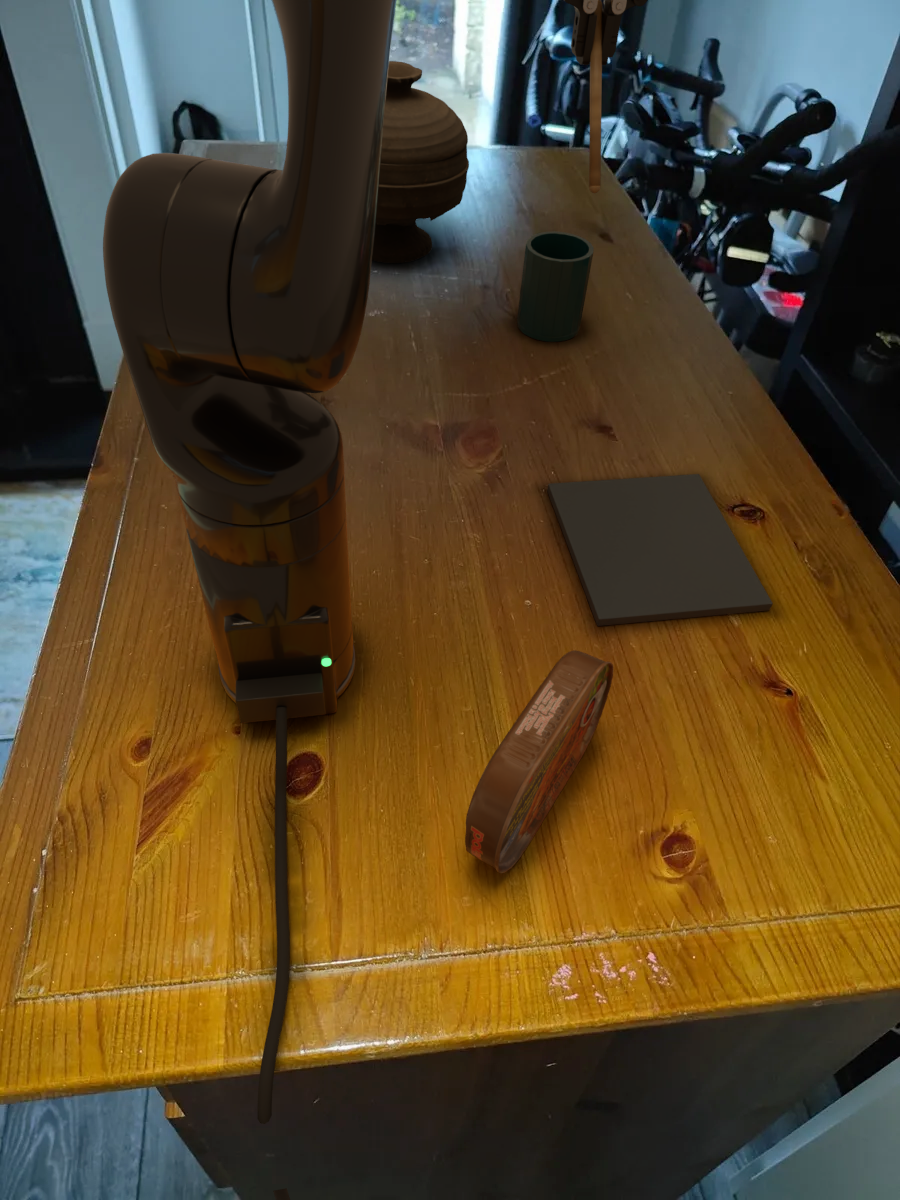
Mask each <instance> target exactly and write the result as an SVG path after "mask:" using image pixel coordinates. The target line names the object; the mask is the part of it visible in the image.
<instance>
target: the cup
mask: <svg viewBox="0 0 900 1200" xmlns="http://www.w3.org/2000/svg"><path fill="white" fill-rule="evenodd" d="M594 249H595V248H594V246H593V244H592V243H591V242H590V241H588V240H587V239H586V238H584V237H582V236H579V235H577V234H574V233H570V232H566V231H557V230H555V231H554V230H553V231H552V230H551V231H543V232H537V233H535V234H533V235H530V236H529V237H528V239H526V242H525V248H524V257H523V266H522V275H521V283H520V291H519V299H518V300H519V302H518V307H517V316H516V325H517V328H518V329H519V331H520V332H521V333H522V334H524V335H525V336H527V337H529V338H531V339H533V340H537V341H541V342H547V343H560V342H566V341H569V340H571V339H573V338H575V337H576V336H577V335H578V334H579V332H580V329H581V325H582V319H583V313H584V307H585V302H586V296H587V290H588V285H589V279H590V273H591V268H592V262H593V256H594Z"/></svg>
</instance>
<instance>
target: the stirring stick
mask: <svg viewBox="0 0 900 1200" xmlns="http://www.w3.org/2000/svg"><path fill="white" fill-rule="evenodd" d="M602 9H603V2H602V0H598V4H597V8H596V10H595V11H594V13H595V14H596V15H597V22H596V28H595V35H594V41H593V48H592V52H591V56H590V64H589V150H588V151H589V159H588V164H589V165H588V171H589V172H588V177H589V178H588V189H589V191H590V193H592V194H597V193H599V192H600V190H601V185H602V182H601V181H602V180H601V179H602V177H601V176H602V174H601V173H602V95H603V94H602V93H603V92H602V91H603V90H602V88H603V87H602V86H603V85H602V83H603V81H602V80H603V65H602Z"/></svg>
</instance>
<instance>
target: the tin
mask: <svg viewBox="0 0 900 1200" xmlns="http://www.w3.org/2000/svg"><path fill="white" fill-rule="evenodd" d="M613 677H614V664H613V663H612V662H611V661H605V660H604V659H603V660H602V659H600V658H598V657H595V656H593V655H591V654H588V653H586V652H583V651H581V650H575V649H574V650H570V651H568V652H566V653H565V654H564V655H563V656H561V657H560V659H558V661H557V662H556V663H555V665H554V666H553V667H552V668H551V670H550V671H549V673H548V674H547V676H546V677H545V678H544V680H543V681H542V683H541V684H540V685H539V687H538V688H537V690H536V691H535V692H534V694H533V696H532V697H531V698H530V700H529V701H528V703H527V704H526V705H525V707H524V709H523V710H522V711H521V713H520V714H519V715H518V717H517V719H516V720H515V722H514V723H513V724H512V726H511V728H510V729H509V731H508V732H507V733H506V734H505V736H504V738H503V739H502V740H501V742H500V744H499V745H498V746H497V748H496V750H495V751H494V753H493V755H491V758H490V759H489V761H488V763H487V764H486V766H485V768H484V770H483V772H482V774H481V776H480V778H479V780H478V783H477V785H476V787H475V789H474V792H473V794H472V797H471V800H470V803H469V805H468V808H467V813H466V816H465V818H466V819H465V835H464V836H465V837H464V844H465V851H466V852H467V853H468V854H470V855H471V856H473V857H475V858H476V859H478V860H480V861H481V862H483V863H485V864H487V865H488V866H490V867H492V868H494V869H495V870H496V872H497V873H499V874H505V873H507V872H508V871H509V870H511V869H512V868H513V867H514V866H515V865H516V863H517V862H518V861H519V860H520V858H521V857H523V854H524V853H525V851H526V850H527V848H528V847H529V845H530V844H531V842H532V840H533V839H534V837H535V835H536V834H537V832H538V831H539V829H540V827H541V825H542V824H543V822H544V820H545V819H546V817H547V816H548V814H549V813H550V811H551V810H552V807H553V806H554V804H555V802H556V800H558V798H559V796H560V794H561V792H562V791H563V789H564V788H565V786H566V784H567V783H568V781H569V779H570V777H571V776H572V775H573V772H574V771H575V770H576V768H577V766H578V765H579V763H580V762H581V759H582V757H584V754H585V752H586V750H587V749H588V746H589V744H590V742H591V741H592V738H593V736H594V734H595V731H596V729H597V728H598V724H599V723H600V720H601V717H602V715H603V712H604V709H605V706H606V703H607V701H608V696H609V693H610V691H611V686H612V681H613Z"/></svg>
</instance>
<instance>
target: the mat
mask: <svg viewBox="0 0 900 1200" xmlns="http://www.w3.org/2000/svg"><path fill="white" fill-rule="evenodd" d="M546 492H547V494H548V496H549V500H550V502H551V505H552V508H553V510H554V513H555V516H556V518H557V521H558V523H559V527H560V529H561V532H562V535H563V537H564V540H565V542H566V546H567V548H568V551H569V553H570V556H571V558H572V559H571V560H572V562H573V564H574V567H575V570H576V572H577V575H578V577H579V581H580V584H581V586H582V589H583V592H584V594H585V597H586V600H587V602H588V605H589V607H590V610H591V612H592V615H593V619H594V621H595V623H596V626H597V627H603V626H612V625H624V624H625V625H626V624H634V623H647V622H656V621H657V622H658V621H668V620H669V621H670V620H677V619H679V620H680V619H689V618H690V619H691V618H702V617H711V616H722V615H733V614H744V613H745V614H746V613H754V612H755V613H756V612H767V611H770V610H771V609H772V606H773V600H772V599H771V598H770V596H769V594H768V593H767V590H766V589H765V587H764V585H763V584H762V582H761V580H760V578H759V576H758V575H757V573H756V571H755V570H754V567H753V566H752V564H751V563H750V561H749V559H748V558H747V556H746V554H745V551H744V550H743V549H742V547H741V545H740V543H739V542H738V540H737V538H736V536H735V534H734V533H733V531H732V529H731V528H730V526H729V524H728V522H727V521H726V519H725V517H724V515H723V514H722V512H721V510H720V508H719V507H718V505H717V503H716V501H715V500H714V497H713V496H712V494H711V492H710V491H709V488H708V487H707V486H706V483H705V482H704V480H703V479H702V476H701V475H700V473H696V474H695V473H693V474H691V473H689V474H676V475H663V476H661V475H660V476H659V475H658V476H646V477H629V478H614V479H601V480H584V481H583V480H582V481H569V482H553V483H552V482H551V483H548V484H547V489H546Z"/></svg>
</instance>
